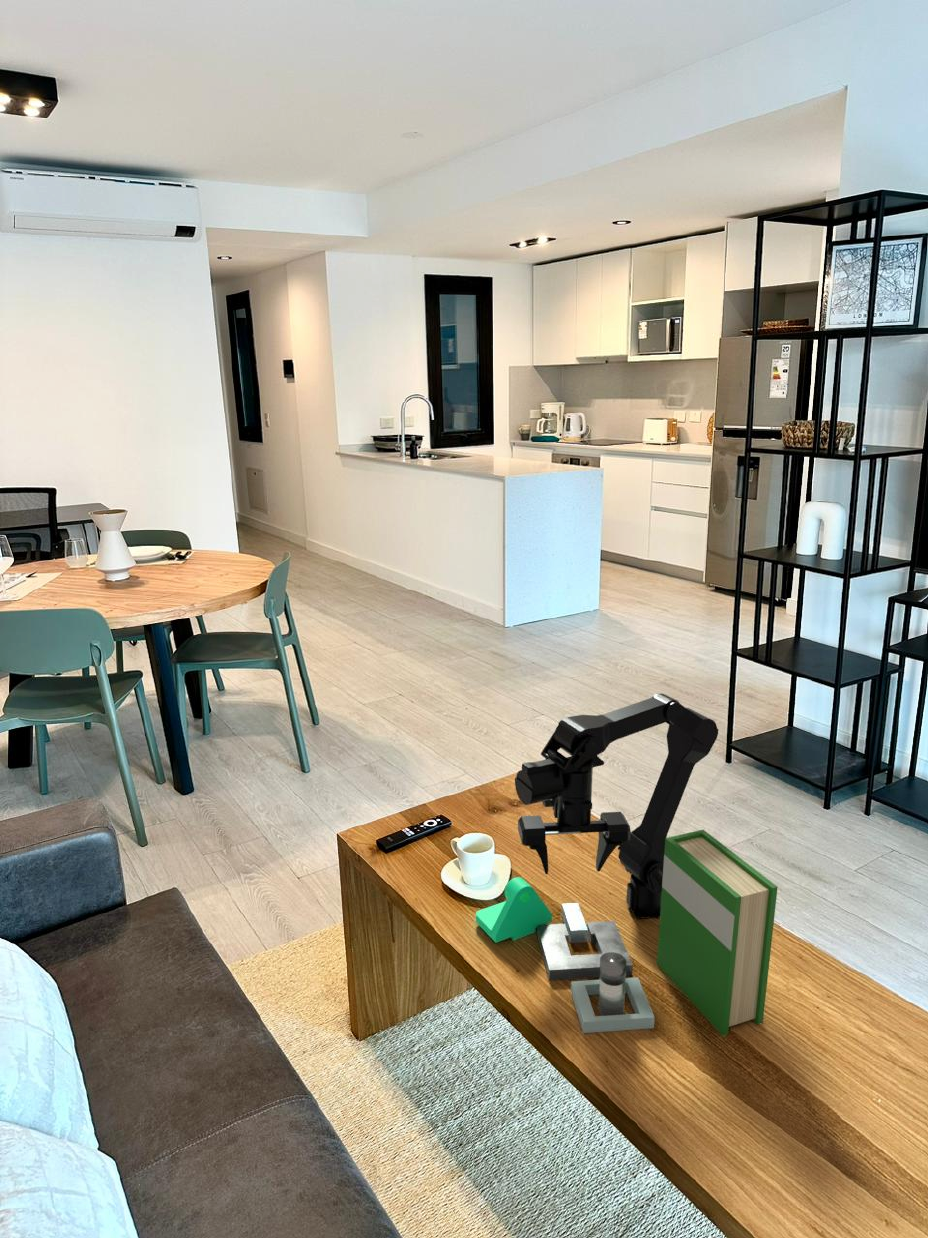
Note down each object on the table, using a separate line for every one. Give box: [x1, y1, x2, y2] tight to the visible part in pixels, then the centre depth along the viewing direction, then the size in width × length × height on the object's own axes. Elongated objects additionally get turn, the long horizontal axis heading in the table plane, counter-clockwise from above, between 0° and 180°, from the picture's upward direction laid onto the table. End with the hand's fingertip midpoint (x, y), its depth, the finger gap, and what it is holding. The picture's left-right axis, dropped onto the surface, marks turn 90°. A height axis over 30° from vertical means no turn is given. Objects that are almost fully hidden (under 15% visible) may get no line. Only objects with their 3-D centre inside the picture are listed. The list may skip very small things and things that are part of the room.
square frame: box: [570, 976, 656, 1034], centre depth 132 cm, size 11×9×2 cm
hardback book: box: [656, 829, 778, 1037], centre depth 133 cm, size 18×7×24 cm, turn 21°
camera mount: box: [475, 876, 553, 943], centre depth 152 cm, size 12×8×10 cm, turn 120°
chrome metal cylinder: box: [598, 952, 627, 1016], centre depth 131 cm, size 4×4×9 cm
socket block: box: [536, 920, 634, 981], centre depth 145 cm, size 14×12×2 cm
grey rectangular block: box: [561, 902, 588, 944], centre depth 152 cm, size 3×8×2 cm, turn 5°
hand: (572, 871), depth 148 cm, fingers open, 9 cm apart
